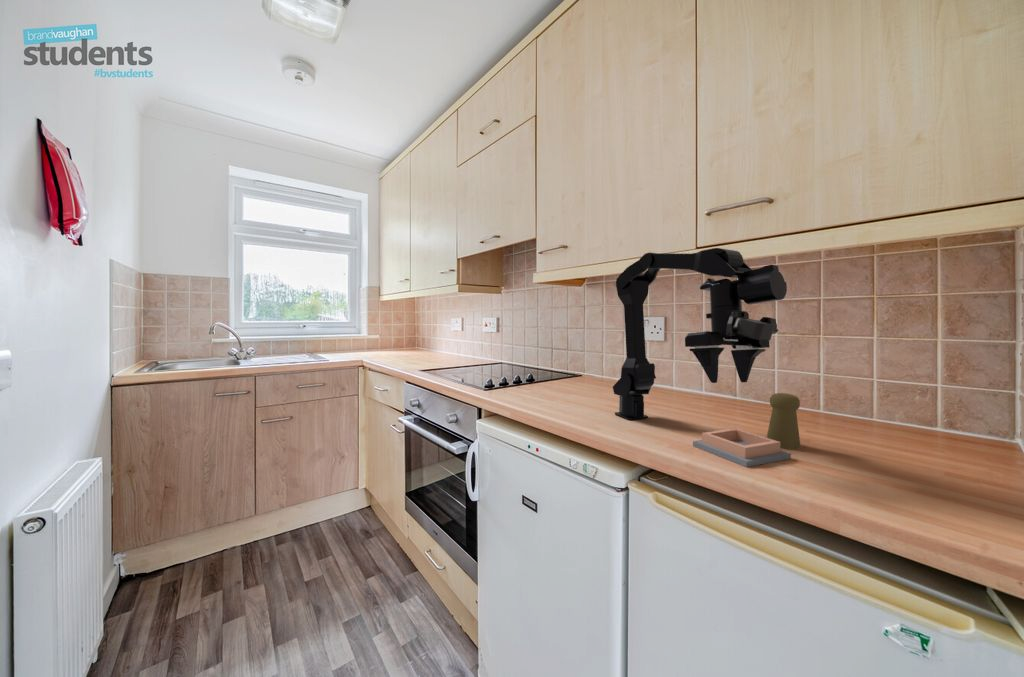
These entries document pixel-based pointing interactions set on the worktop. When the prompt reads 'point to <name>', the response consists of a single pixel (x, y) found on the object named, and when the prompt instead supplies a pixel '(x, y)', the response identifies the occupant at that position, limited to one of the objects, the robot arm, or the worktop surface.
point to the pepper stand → (741, 447)
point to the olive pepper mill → (784, 420)
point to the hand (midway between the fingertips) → (729, 382)
